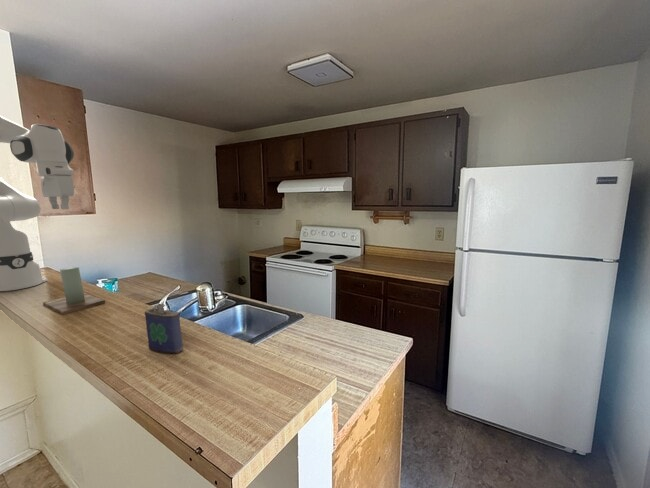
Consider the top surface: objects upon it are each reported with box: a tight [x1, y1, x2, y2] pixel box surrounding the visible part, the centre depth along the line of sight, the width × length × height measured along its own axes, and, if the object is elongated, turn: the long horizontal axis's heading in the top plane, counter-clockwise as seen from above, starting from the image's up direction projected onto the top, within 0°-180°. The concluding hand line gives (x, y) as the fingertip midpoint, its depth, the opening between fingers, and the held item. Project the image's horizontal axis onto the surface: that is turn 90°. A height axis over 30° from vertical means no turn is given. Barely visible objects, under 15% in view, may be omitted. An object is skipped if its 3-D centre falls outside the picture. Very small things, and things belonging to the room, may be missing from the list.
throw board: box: [42, 292, 106, 315], centre depth 109 cm, size 18×12×1 cm, turn 57°
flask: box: [144, 303, 184, 355], centre depth 73 cm, size 10×3×12 cm, turn 69°
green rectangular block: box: [59, 266, 85, 305], centre depth 107 cm, size 5×5×12 cm
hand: (60, 209), depth 115 cm, fingers open, 8 cm apart
